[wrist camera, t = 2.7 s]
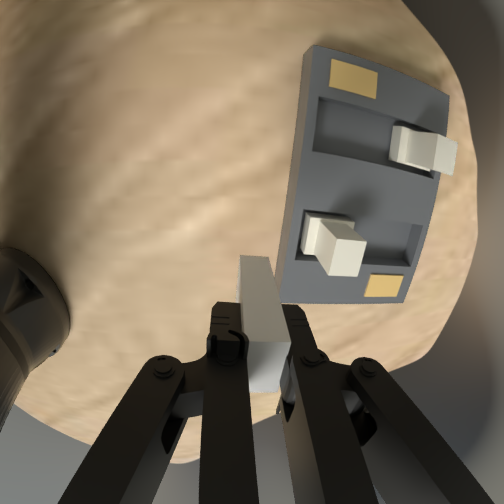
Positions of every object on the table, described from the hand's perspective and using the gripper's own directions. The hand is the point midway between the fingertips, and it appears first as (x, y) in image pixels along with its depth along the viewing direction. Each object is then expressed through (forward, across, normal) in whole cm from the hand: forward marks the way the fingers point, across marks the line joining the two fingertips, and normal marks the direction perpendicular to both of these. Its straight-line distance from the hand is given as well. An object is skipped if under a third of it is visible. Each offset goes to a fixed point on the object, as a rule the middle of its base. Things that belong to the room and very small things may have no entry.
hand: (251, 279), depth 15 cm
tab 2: (+9, +14, +9) cm, 19 cm away
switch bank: (+11, +10, +4) cm, 16 cm away
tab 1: (+9, +7, 0) cm, 11 cm away
